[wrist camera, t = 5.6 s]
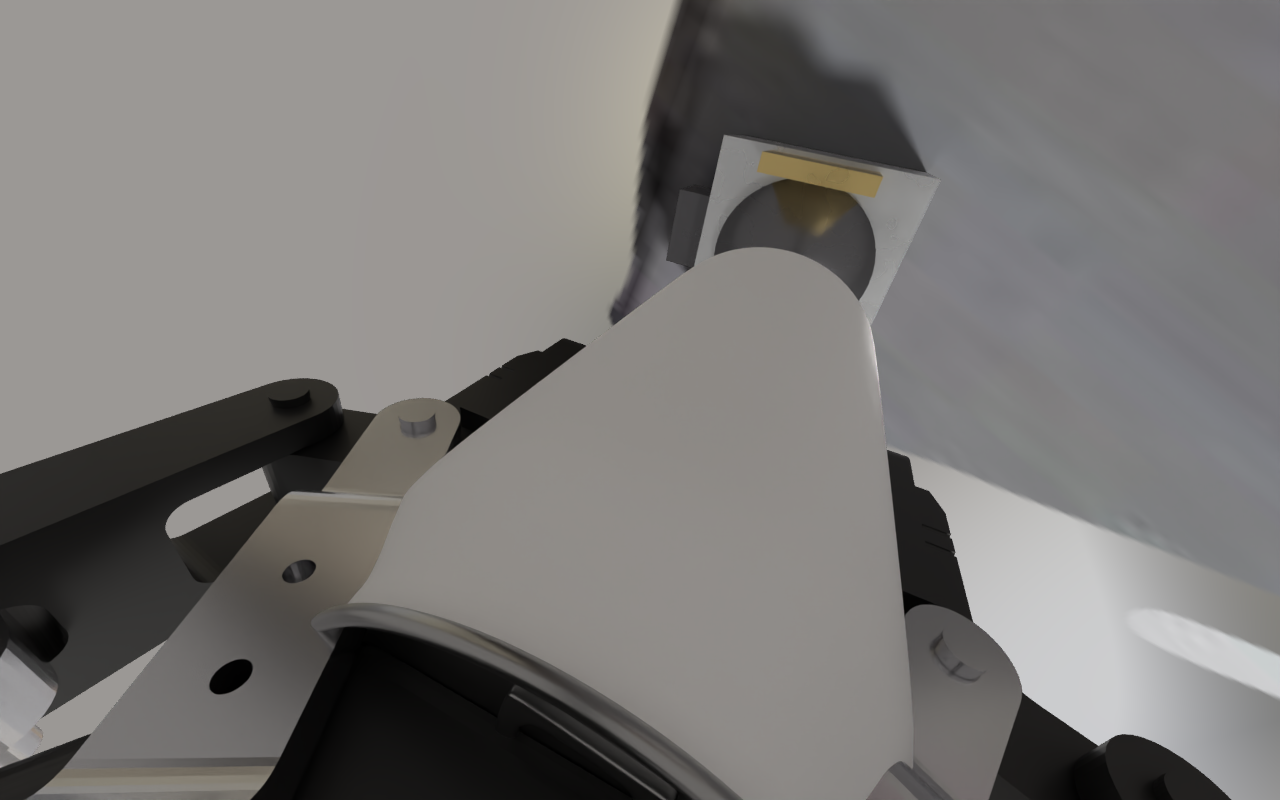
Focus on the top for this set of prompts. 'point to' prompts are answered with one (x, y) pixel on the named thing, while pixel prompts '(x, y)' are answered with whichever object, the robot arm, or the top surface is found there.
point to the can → (674, 550)
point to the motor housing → (805, 212)
